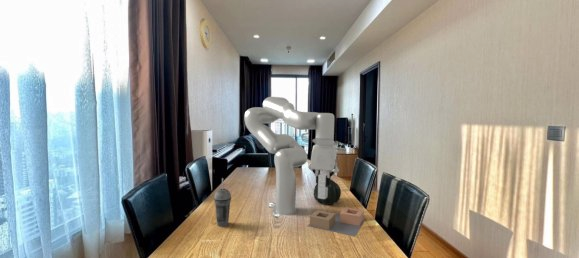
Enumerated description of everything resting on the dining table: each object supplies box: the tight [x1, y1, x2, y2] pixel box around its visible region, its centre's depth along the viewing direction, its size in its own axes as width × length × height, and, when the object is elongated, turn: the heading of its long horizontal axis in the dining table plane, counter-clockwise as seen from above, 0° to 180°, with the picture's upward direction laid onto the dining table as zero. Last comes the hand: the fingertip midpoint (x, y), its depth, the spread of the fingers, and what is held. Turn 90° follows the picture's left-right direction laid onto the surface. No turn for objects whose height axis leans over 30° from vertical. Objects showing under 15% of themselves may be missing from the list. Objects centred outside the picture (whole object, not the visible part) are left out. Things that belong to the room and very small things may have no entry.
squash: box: [313, 179, 342, 206], centre depth 147 cm, size 14×15×15 cm
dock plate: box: [307, 206, 366, 237], centre depth 117 cm, size 20×20×6 cm
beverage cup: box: [213, 177, 232, 228], centre depth 116 cm, size 7×7×20 cm
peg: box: [318, 172, 328, 199], centre depth 114 cm, size 3×3×10 cm
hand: (323, 185), depth 114 cm, fingers closed on peg, 3 cm apart
